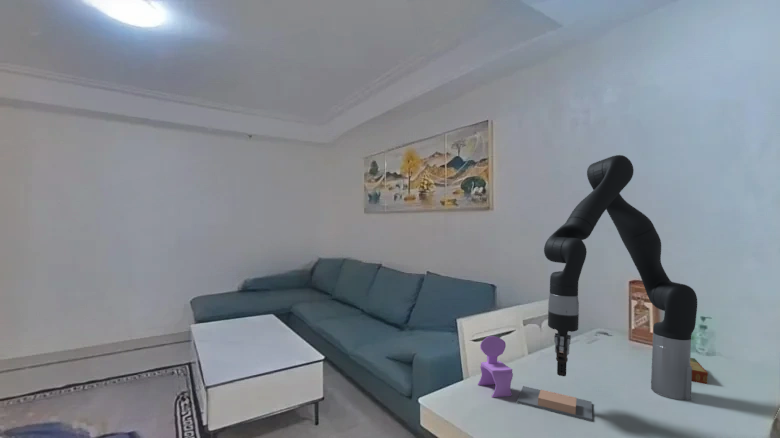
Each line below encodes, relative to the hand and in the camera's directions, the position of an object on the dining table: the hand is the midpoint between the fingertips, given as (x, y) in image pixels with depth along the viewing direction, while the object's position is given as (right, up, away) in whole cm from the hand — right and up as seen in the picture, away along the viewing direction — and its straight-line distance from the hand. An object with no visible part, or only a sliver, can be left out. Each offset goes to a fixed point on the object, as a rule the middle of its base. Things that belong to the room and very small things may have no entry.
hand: (561, 374), depth 103 cm
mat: (-1, -8, +1) cm, 8 cm away
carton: (+56, -12, +28) cm, 64 cm away
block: (0, -7, +1) cm, 7 cm away
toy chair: (-16, -8, +8) cm, 19 cm away
